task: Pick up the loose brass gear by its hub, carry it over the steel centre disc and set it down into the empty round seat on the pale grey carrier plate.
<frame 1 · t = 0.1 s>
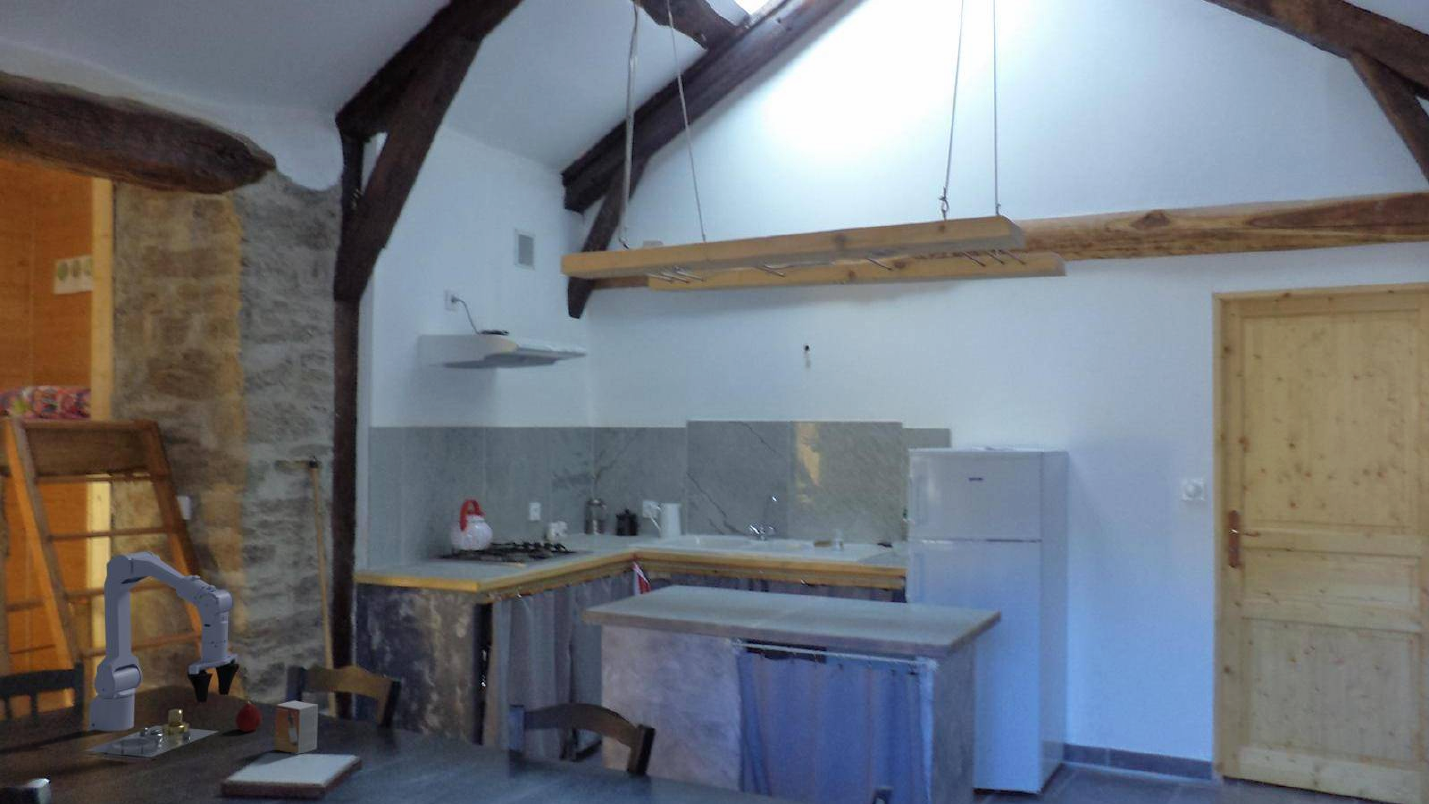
hand: (213, 698, 261), 10 cm above the table, tool pointing down, fingers open, 7 cm apart
onion: (248, 735, 266), on the table
carrier plate: (153, 744, 256), on the table
gear: (175, 731, 264), point 1 cm above the table, touching carrier plate
small box: (295, 750, 254), on the table
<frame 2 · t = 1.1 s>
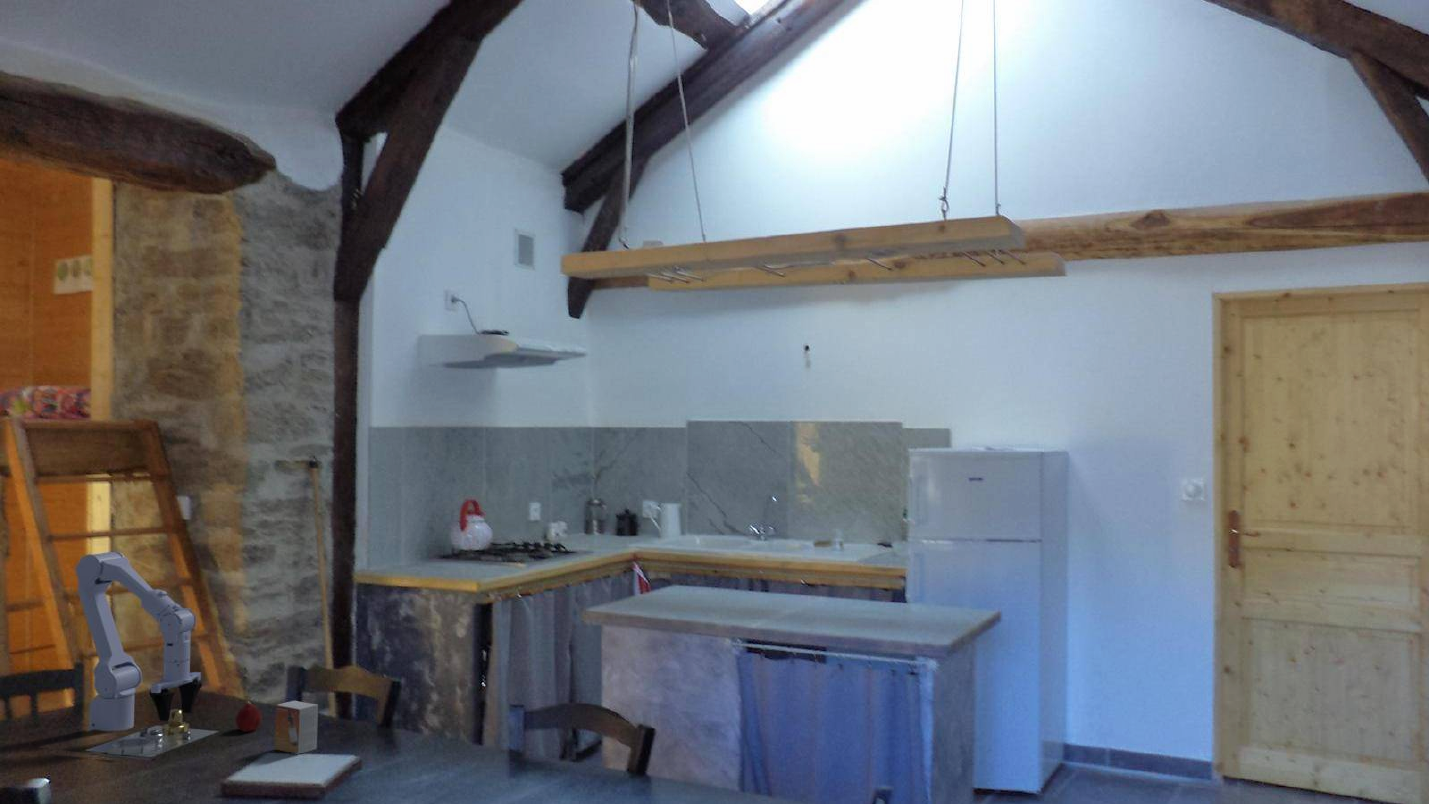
hand: (175, 716, 264), 5 cm above the table, tool pointing down, fingers open, 7 cm apart
nothing on the table moved.
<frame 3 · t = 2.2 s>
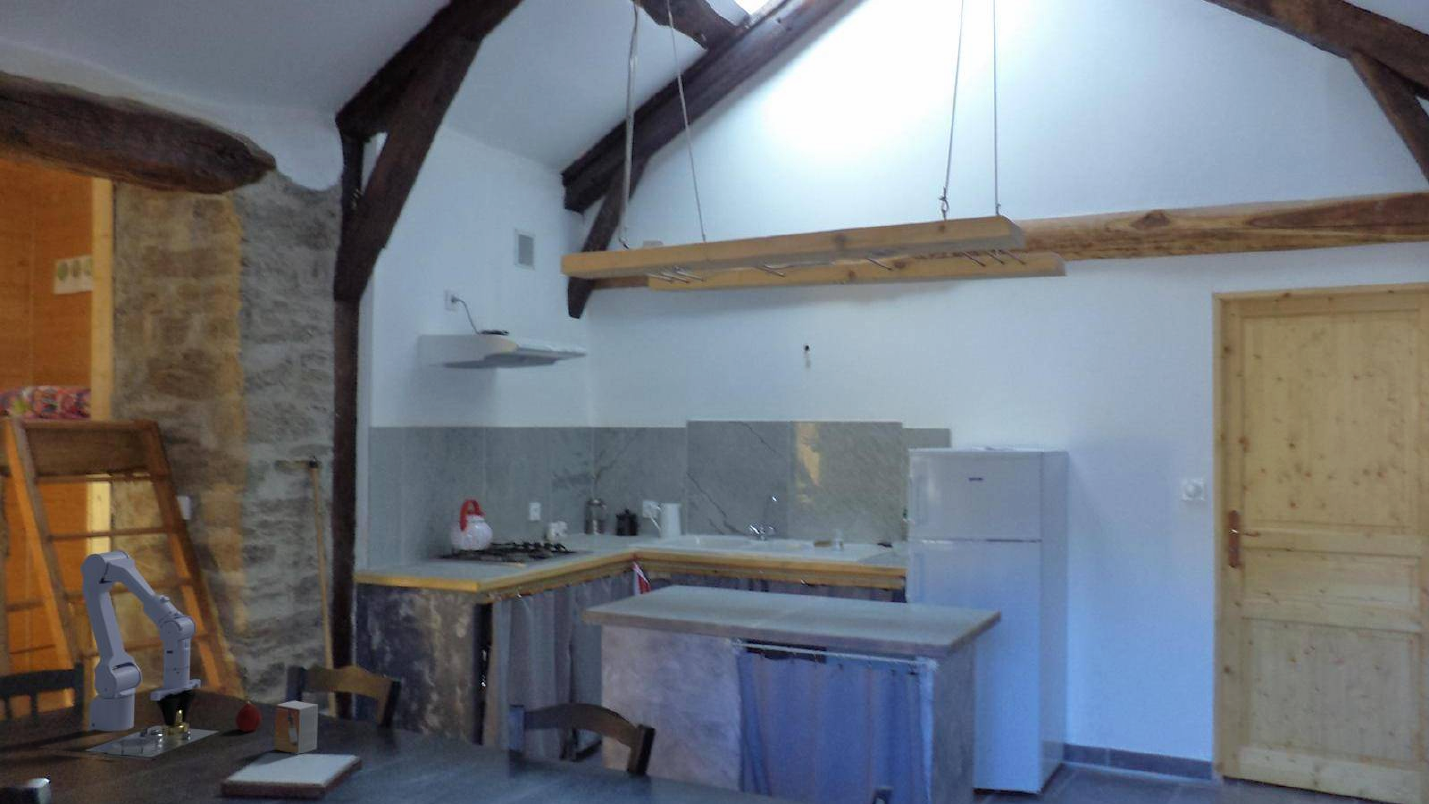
hand: (175, 723, 264), 3 cm above the table, tool pointing down, fingers closed on gear, 3 cm apart
gear: (175, 731, 264), point 1 cm above the table, touching carrier plate, gripper
everything else where it was.
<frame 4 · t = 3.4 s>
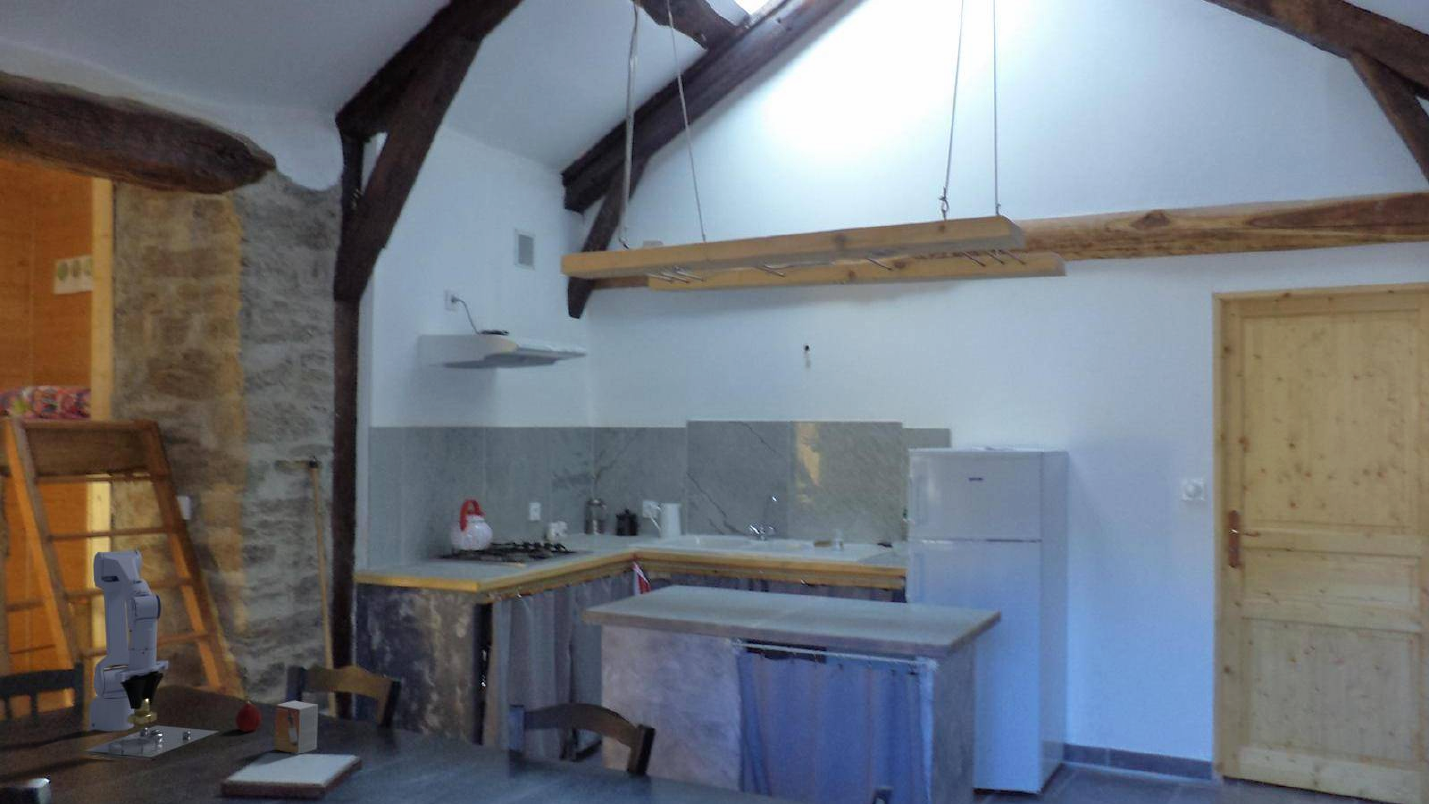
hand: (141, 706, 252), 10 cm above the table, tool pointing down, fingers closed on gear, 3 cm apart
gear: (141, 720, 252), point 7 cm above the table, touching gripper
everything else where it was.
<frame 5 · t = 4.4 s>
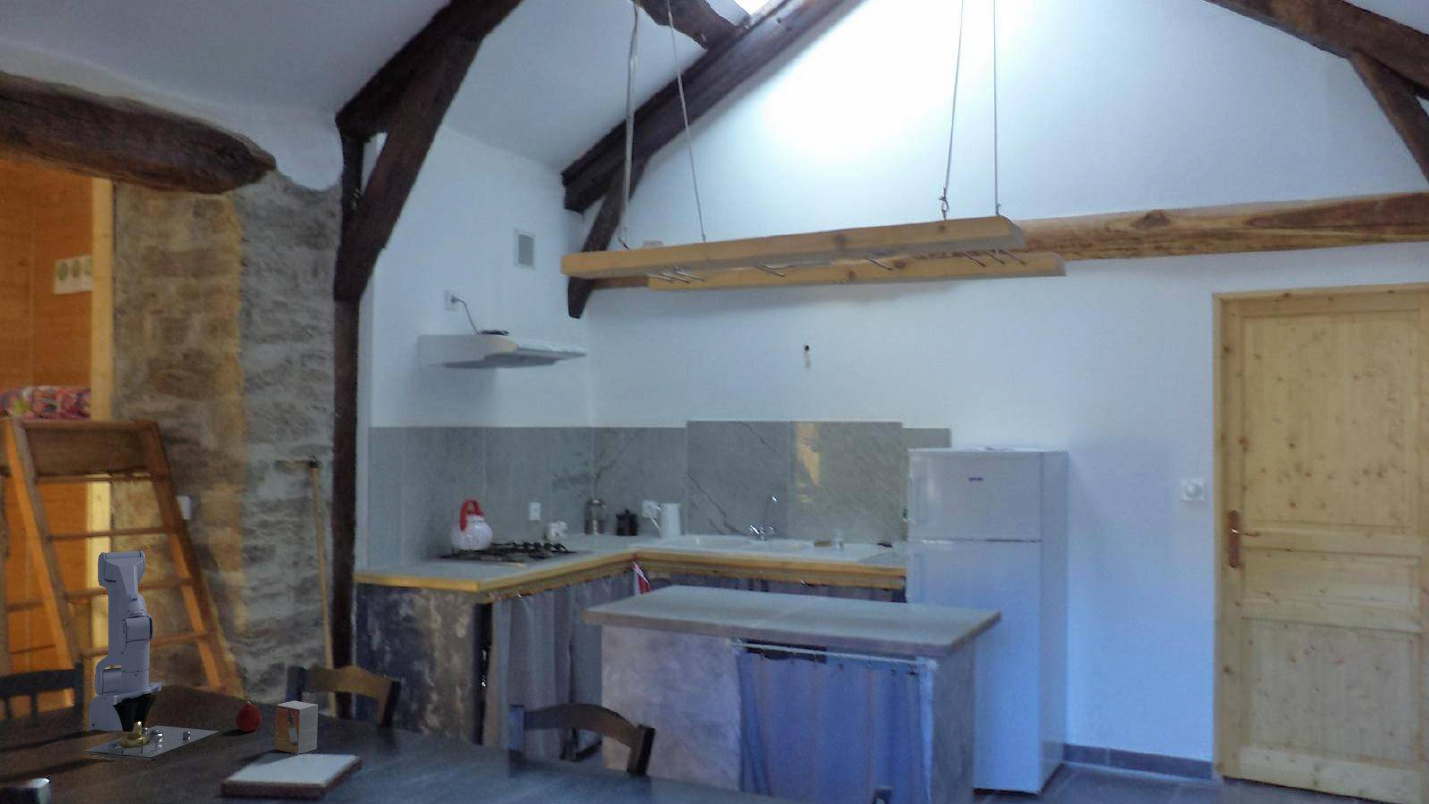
hand: (133, 729, 250), 5 cm above the table, tool pointing down, fingers closed on gear, 3 cm apart
gear: (134, 743, 250), point 2 cm above the table, touching gripper
everything else where it was.
when the fingers open (4 cm above the table, at t = 4.9 s): gear stays where it is, resting on carrier plate.
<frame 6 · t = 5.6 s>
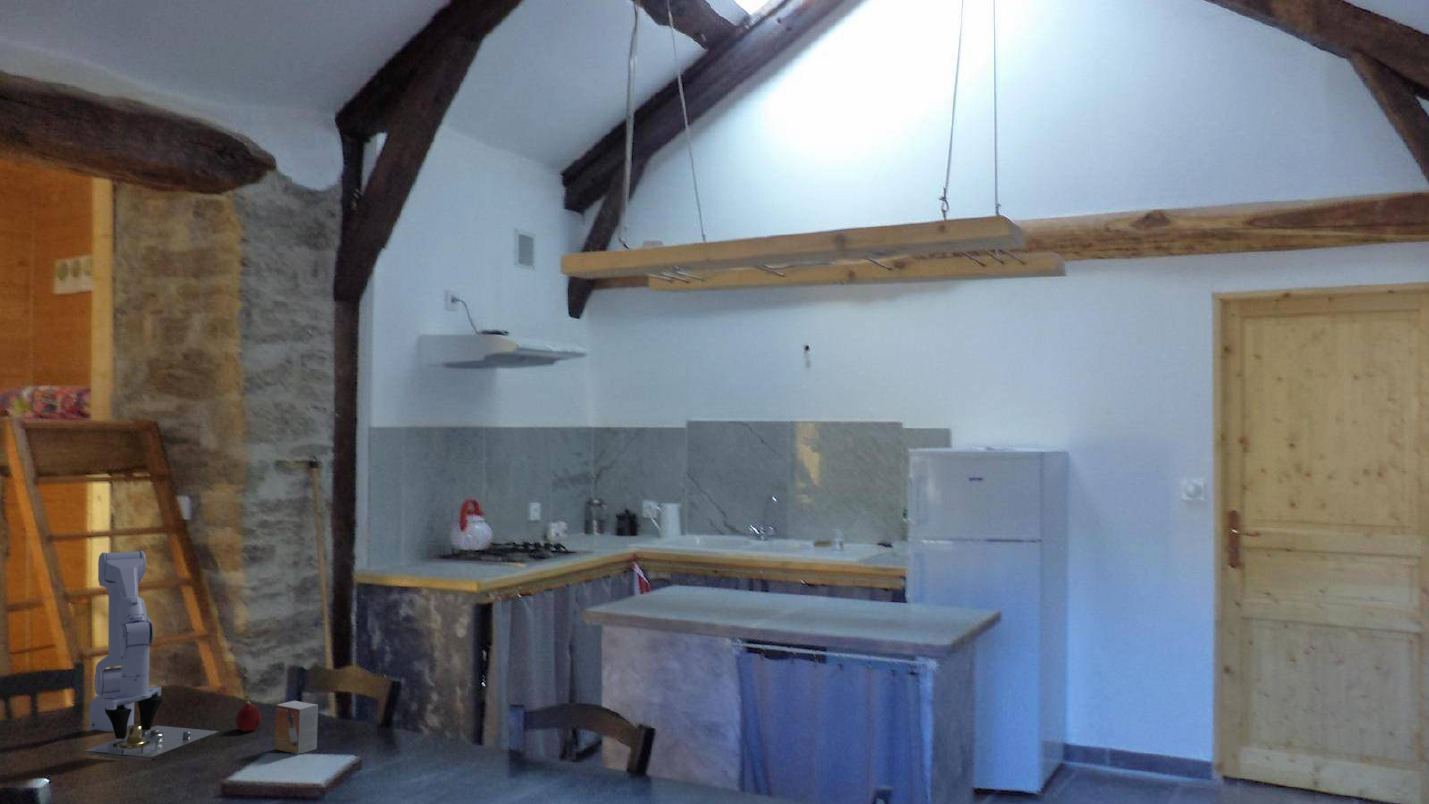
hand: (133, 734, 250), 4 cm above the table, tool pointing down, fingers open, 7 cm apart
gear: (134, 748, 250), point 1 cm above the table, touching carrier plate
everything else where it was.
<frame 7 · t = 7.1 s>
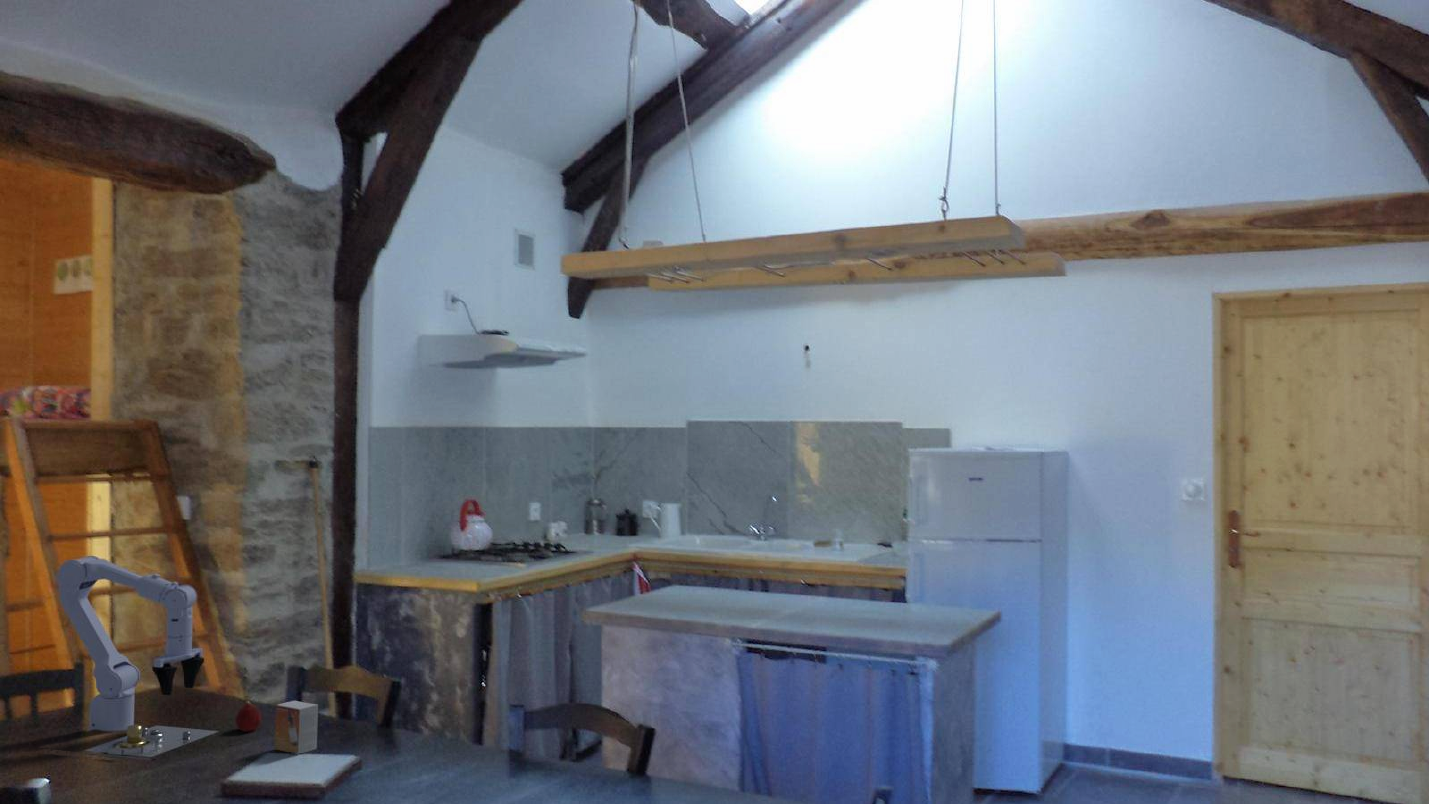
hand: (177, 691, 268), 10 cm above the table, tool pointing down, fingers open, 7 cm apart
nothing on the table moved.
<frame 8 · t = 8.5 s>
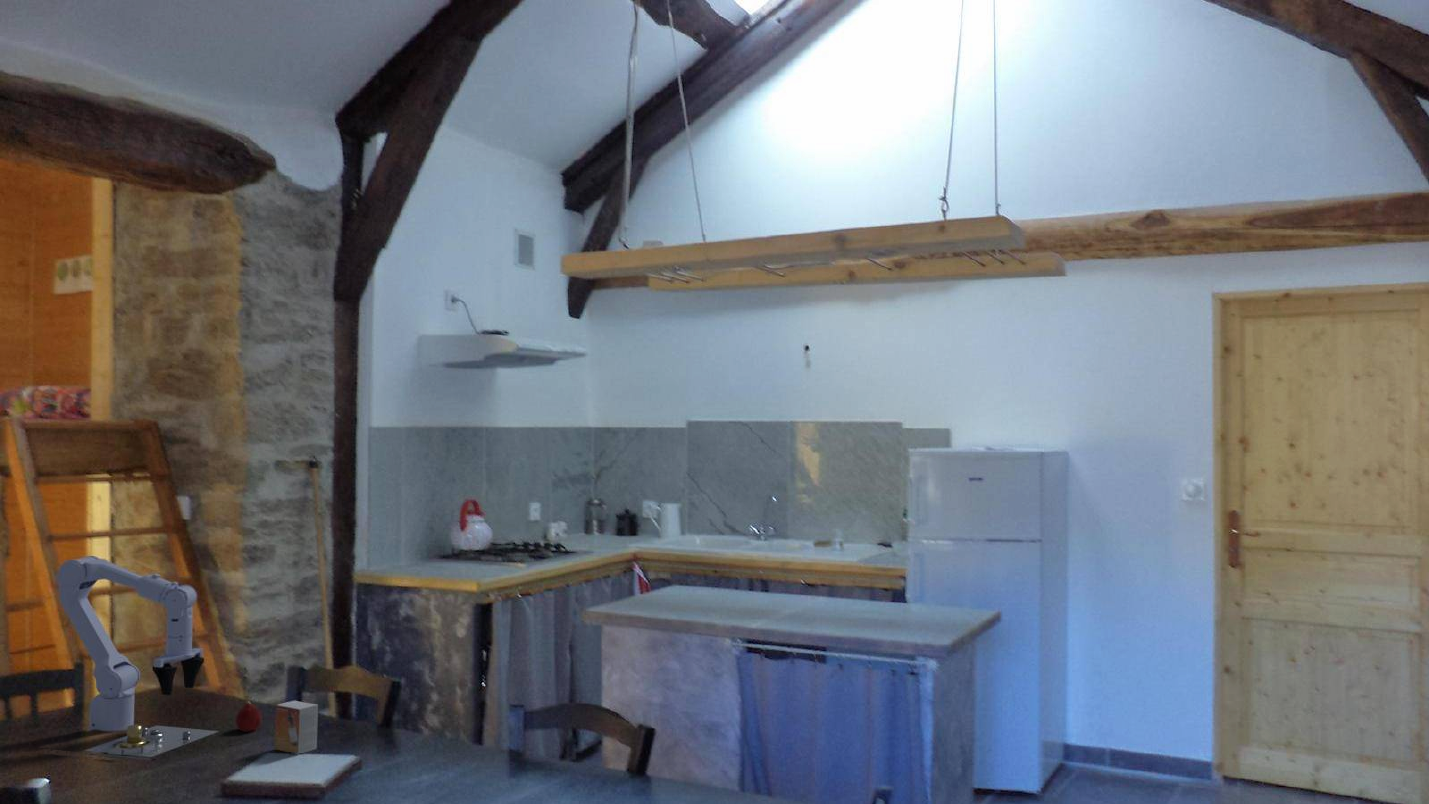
hand: (178, 691, 268), 10 cm above the table, tool pointing down, fingers open, 7 cm apart
nothing on the table moved.
at the end: gear 0.3 cm from the target spot on the carrier plate, point 1.0 cm above the carrier plate's base; gear tilted 0°; the gripper is holding nothing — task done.
